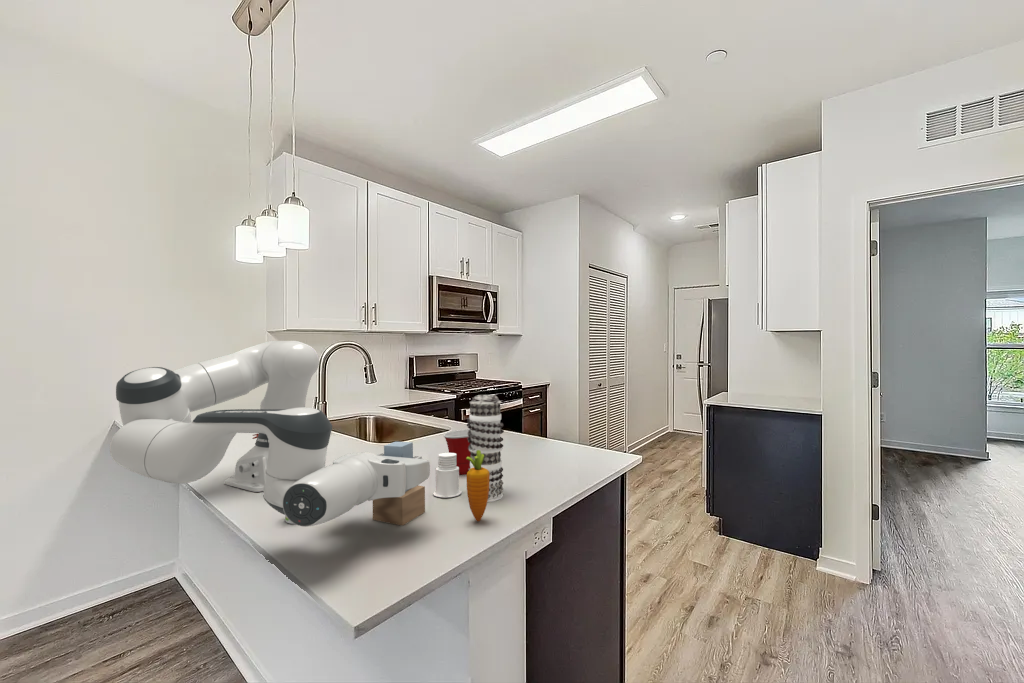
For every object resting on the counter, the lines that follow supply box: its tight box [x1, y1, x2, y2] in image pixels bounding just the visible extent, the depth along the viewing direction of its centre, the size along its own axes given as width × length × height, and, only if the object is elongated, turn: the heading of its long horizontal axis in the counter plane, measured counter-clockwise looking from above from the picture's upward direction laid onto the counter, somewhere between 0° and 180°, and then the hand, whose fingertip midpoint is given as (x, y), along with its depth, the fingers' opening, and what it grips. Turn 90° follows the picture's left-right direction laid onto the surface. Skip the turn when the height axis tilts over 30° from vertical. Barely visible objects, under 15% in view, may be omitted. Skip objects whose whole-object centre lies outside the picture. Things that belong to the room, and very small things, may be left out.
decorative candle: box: [466, 394, 505, 503], centre depth 110 cm, size 9×9×25 cm
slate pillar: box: [383, 441, 414, 492], centre depth 98 cm, size 4×4×10 cm
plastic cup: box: [442, 428, 471, 476], centre depth 131 cm, size 11×11×12 cm
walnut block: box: [372, 484, 426, 527], centre depth 98 cm, size 8×8×6 cm
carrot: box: [465, 450, 490, 523], centre depth 95 cm, size 5×5×15 cm
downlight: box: [432, 452, 462, 499], centre depth 113 cm, size 8×7×10 cm
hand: (401, 458), depth 99 cm, fingers open, 8 cm apart
